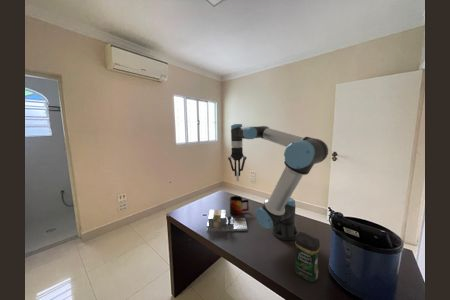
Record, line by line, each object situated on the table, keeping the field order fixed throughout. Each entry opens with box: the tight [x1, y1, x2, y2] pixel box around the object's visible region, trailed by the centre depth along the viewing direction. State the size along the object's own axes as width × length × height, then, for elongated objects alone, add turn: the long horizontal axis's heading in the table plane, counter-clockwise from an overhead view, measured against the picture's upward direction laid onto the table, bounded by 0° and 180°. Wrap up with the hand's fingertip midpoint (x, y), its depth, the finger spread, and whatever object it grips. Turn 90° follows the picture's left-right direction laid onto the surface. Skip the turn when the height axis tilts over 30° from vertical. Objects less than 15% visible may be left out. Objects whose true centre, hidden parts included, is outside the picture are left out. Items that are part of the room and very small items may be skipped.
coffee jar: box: [293, 231, 321, 283], centre depth 77 cm, size 10×8×19 cm
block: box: [213, 209, 222, 227], centre depth 117 cm, size 5×7×8 cm
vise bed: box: [206, 209, 248, 232], centre depth 117 cm, size 26×13×8 cm, turn 89°
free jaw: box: [220, 209, 234, 228], centre depth 116 cm, size 8×12×8 cm
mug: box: [229, 195, 249, 217], centre depth 134 cm, size 10×14×12 cm
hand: (237, 180), depth 120 cm, fingers closed
